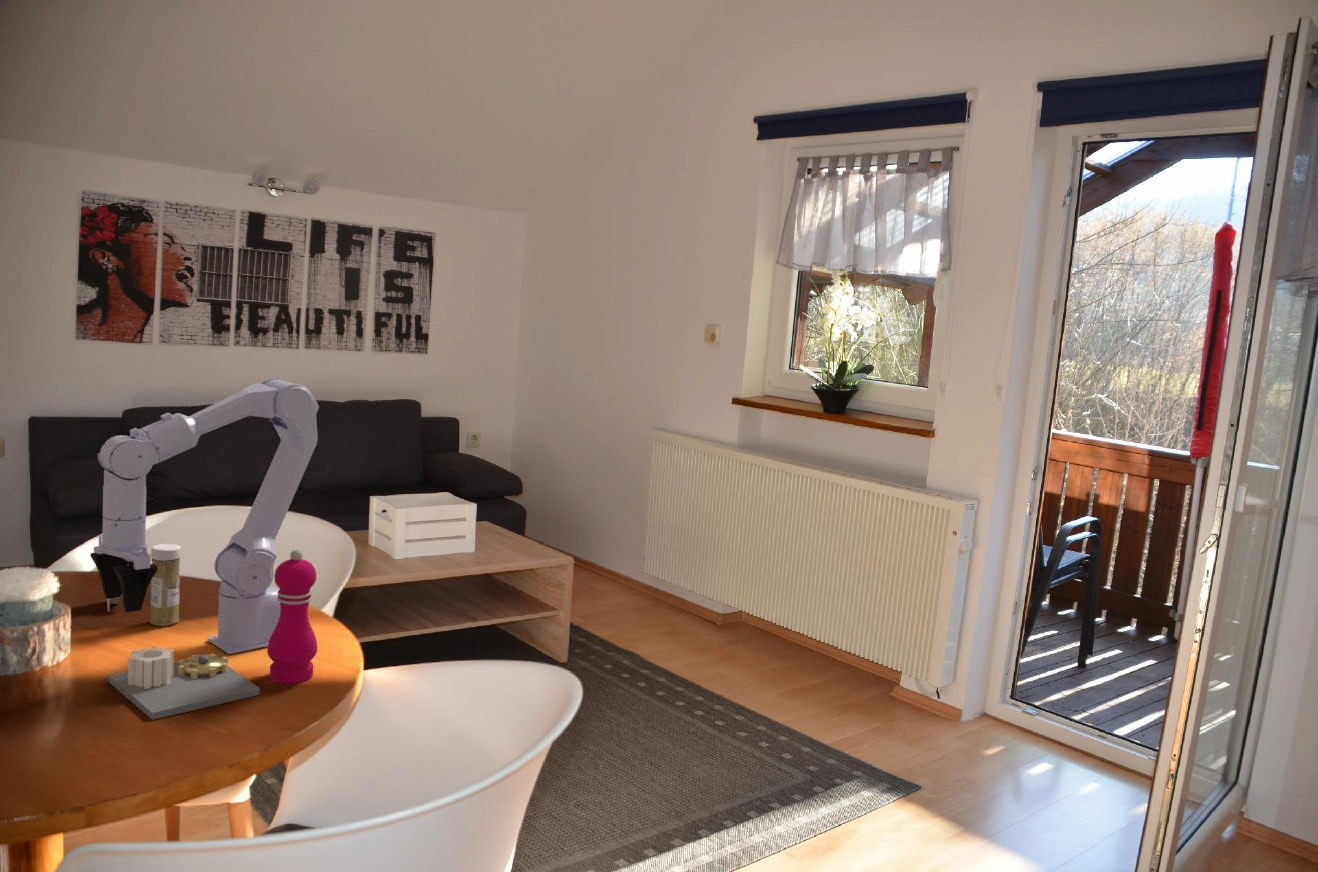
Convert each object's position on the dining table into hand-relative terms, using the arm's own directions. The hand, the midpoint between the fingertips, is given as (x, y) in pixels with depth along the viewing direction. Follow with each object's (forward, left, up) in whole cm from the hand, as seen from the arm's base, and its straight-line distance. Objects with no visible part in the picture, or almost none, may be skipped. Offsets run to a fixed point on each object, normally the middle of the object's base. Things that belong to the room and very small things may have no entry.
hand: (122, 603), depth 154 cm
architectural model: (-8, -28, -10) cm, 31 cm away
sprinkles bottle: (-12, -15, -10) cm, 21 cm away
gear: (0, +11, -8) cm, 14 cm away
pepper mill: (-18, +18, -10) cm, 27 cm away
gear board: (-4, +14, -9) cm, 17 cm away
